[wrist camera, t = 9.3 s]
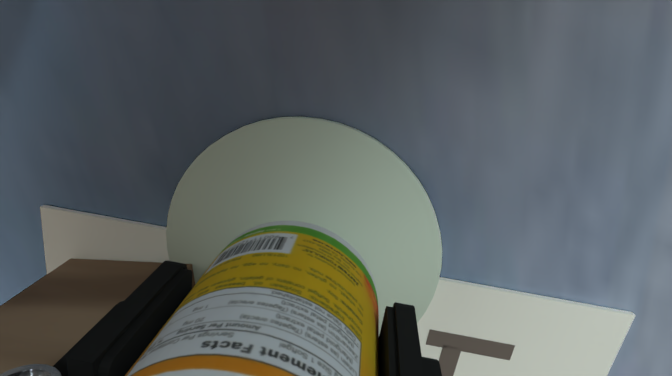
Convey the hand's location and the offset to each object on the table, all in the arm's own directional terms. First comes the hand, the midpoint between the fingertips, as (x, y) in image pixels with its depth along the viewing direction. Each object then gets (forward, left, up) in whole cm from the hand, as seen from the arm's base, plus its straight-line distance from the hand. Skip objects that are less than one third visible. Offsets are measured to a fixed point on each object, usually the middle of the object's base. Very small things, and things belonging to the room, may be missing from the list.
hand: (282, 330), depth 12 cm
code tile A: (+4, +8, -4) cm, 10 cm away
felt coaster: (0, 0, -4) cm, 4 cm away
